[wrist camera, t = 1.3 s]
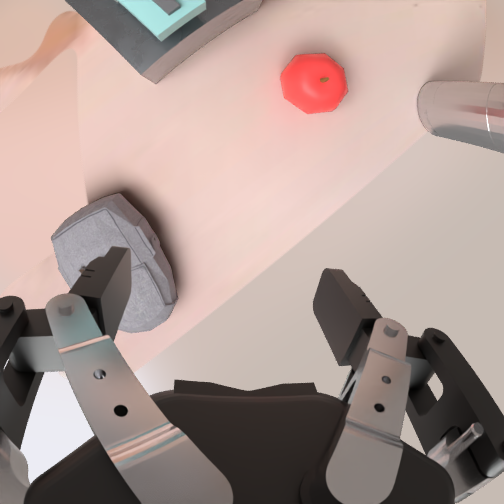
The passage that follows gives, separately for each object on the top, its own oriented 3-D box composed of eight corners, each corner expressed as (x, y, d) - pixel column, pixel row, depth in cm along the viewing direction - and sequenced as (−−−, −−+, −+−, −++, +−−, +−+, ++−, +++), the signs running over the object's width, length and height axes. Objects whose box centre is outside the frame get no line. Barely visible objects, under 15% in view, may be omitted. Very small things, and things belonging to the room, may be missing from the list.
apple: (337, 68, 31) (367, 59, 24) (326, 122, 34) (353, 124, 27) (280, 50, 30) (297, 34, 22) (267, 107, 33) (282, 103, 26)
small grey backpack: (54, 224, 35) (121, 325, 44) (26, 248, 28) (110, 361, 37) (134, 175, 34) (199, 295, 43) (115, 191, 27) (199, 332, 36)
